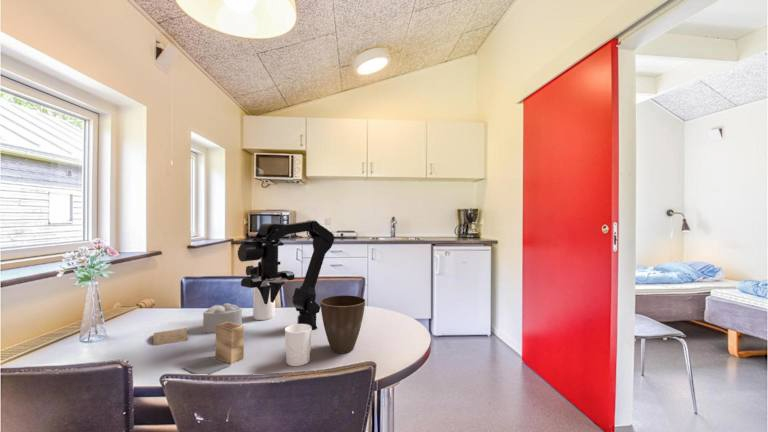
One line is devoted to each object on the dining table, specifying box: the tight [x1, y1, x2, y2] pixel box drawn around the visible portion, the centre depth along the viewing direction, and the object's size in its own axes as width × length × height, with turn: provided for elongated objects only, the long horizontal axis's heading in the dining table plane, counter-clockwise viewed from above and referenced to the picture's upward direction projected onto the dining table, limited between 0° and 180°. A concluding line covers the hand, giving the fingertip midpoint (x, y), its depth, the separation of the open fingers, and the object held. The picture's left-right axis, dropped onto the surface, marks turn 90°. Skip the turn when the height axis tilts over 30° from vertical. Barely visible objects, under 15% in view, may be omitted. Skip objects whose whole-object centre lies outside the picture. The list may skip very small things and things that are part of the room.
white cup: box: [284, 323, 313, 367], centre depth 96 cm, size 8×8×10 cm
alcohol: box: [252, 258, 276, 321], centre depth 138 cm, size 9×9×30 cm
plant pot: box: [319, 294, 366, 354], centre depth 105 cm, size 15×15×16 cm
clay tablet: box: [152, 327, 189, 347], centre depth 114 cm, size 14×10×3 cm
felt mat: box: [182, 356, 231, 375], centre depth 91 cm, size 8×10×1 cm
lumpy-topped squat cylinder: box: [202, 302, 243, 333], centre depth 125 cm, size 10×13×9 cm
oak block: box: [215, 322, 245, 365], centre depth 97 cm, size 4×8×10 cm, turn 59°
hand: (269, 303), depth 112 cm, fingers closed
